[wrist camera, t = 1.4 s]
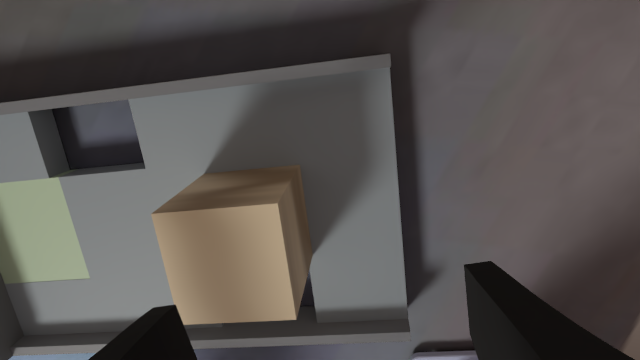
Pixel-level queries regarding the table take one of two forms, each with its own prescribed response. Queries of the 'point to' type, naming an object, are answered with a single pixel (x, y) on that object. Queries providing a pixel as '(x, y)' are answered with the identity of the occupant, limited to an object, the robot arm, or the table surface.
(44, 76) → the table surface
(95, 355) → the robot arm
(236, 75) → the board
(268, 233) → the block
